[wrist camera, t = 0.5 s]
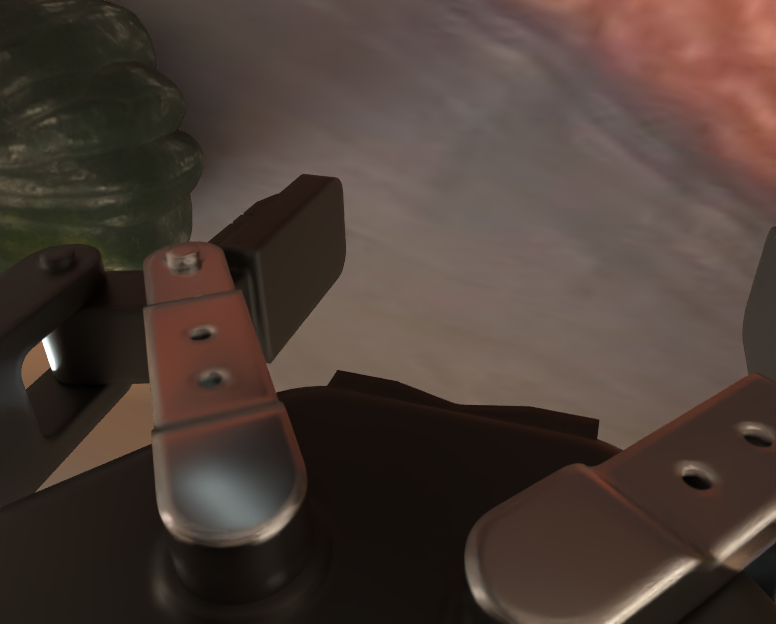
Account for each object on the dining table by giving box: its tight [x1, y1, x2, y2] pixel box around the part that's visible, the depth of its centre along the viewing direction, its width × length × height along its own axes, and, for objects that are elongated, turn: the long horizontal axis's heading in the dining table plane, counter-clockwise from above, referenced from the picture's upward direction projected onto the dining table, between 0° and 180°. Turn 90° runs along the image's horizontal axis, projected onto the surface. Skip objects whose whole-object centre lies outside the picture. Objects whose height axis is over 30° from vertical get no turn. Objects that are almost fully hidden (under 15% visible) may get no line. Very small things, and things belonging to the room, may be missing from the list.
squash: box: [0, 0, 203, 274], centre depth 31 cm, size 14×15×15 cm
